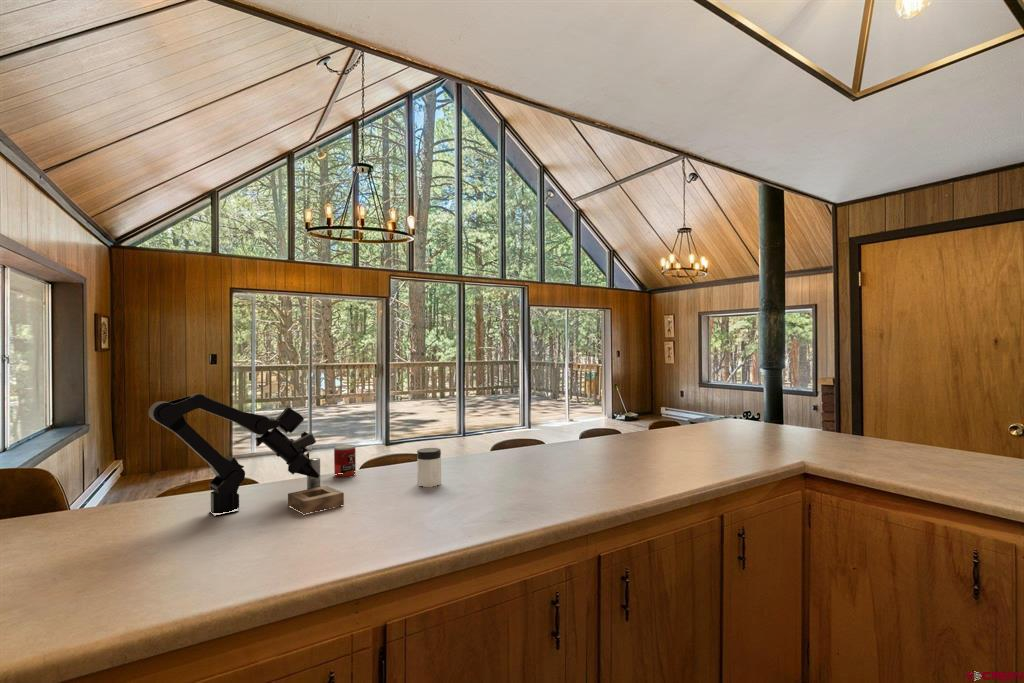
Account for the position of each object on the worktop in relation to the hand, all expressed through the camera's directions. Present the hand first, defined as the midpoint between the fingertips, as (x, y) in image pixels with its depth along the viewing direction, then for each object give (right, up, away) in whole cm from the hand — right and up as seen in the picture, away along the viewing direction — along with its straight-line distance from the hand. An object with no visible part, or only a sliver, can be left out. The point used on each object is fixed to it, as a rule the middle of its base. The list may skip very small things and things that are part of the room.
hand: (318, 475), depth 162 cm
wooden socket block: (+4, -6, -11) cm, 13 cm away
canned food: (0, -7, +27) cm, 28 cm away
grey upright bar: (-1, -7, -1) cm, 7 cm away
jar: (+34, -6, +12) cm, 37 cm away
